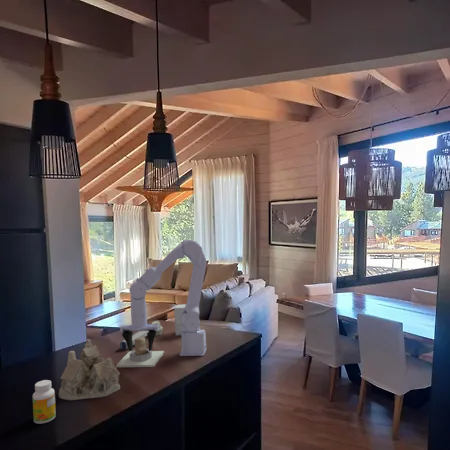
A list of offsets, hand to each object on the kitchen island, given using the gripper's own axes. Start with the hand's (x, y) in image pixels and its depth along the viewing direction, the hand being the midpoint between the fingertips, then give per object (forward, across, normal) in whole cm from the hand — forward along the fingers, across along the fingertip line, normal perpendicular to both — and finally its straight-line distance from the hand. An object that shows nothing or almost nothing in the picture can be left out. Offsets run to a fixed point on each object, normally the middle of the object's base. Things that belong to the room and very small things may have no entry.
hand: (140, 350), depth 142 cm
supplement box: (+4, +10, +33) cm, 35 cm away
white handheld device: (+4, -6, +23) cm, 24 cm away
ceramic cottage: (+4, -8, -25) cm, 27 cm away
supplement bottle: (+4, -13, -42) cm, 44 cm away
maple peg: (+3, 0, 0) cm, 3 cm away
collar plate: (+4, 0, 0) cm, 4 cm away
